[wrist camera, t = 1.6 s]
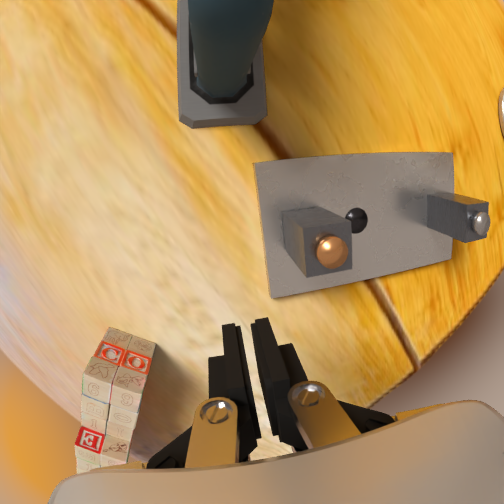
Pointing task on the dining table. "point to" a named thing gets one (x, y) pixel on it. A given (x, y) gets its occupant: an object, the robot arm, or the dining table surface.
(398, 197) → the hole plate
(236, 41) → the curved pipe assembly
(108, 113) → the dining table surface
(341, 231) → the block
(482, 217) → the fixed leg
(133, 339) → the stack of blocks
